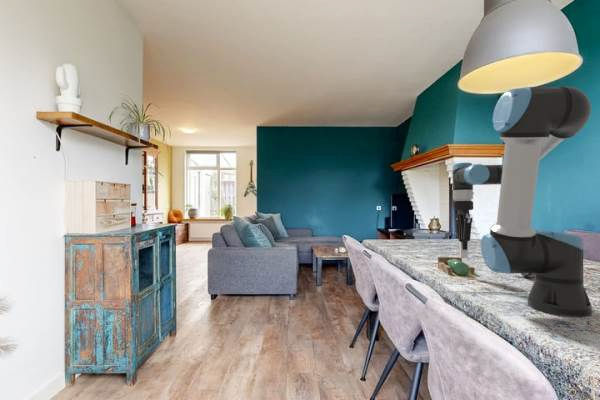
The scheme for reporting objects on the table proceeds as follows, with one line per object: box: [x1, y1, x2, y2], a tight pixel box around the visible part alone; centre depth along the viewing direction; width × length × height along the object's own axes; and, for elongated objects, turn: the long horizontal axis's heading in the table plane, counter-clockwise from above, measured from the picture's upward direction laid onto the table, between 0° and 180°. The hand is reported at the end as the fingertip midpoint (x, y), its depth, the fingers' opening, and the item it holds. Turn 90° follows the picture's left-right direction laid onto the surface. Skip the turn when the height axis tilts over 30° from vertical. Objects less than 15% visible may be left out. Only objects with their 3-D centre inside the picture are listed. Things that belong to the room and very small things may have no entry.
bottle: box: [447, 259, 469, 276], centre depth 146 cm, size 5×5×15 cm
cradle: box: [437, 256, 482, 280], centre depth 144 cm, size 22×11×6 cm, turn 174°
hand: (463, 257), depth 138 cm, fingers closed
